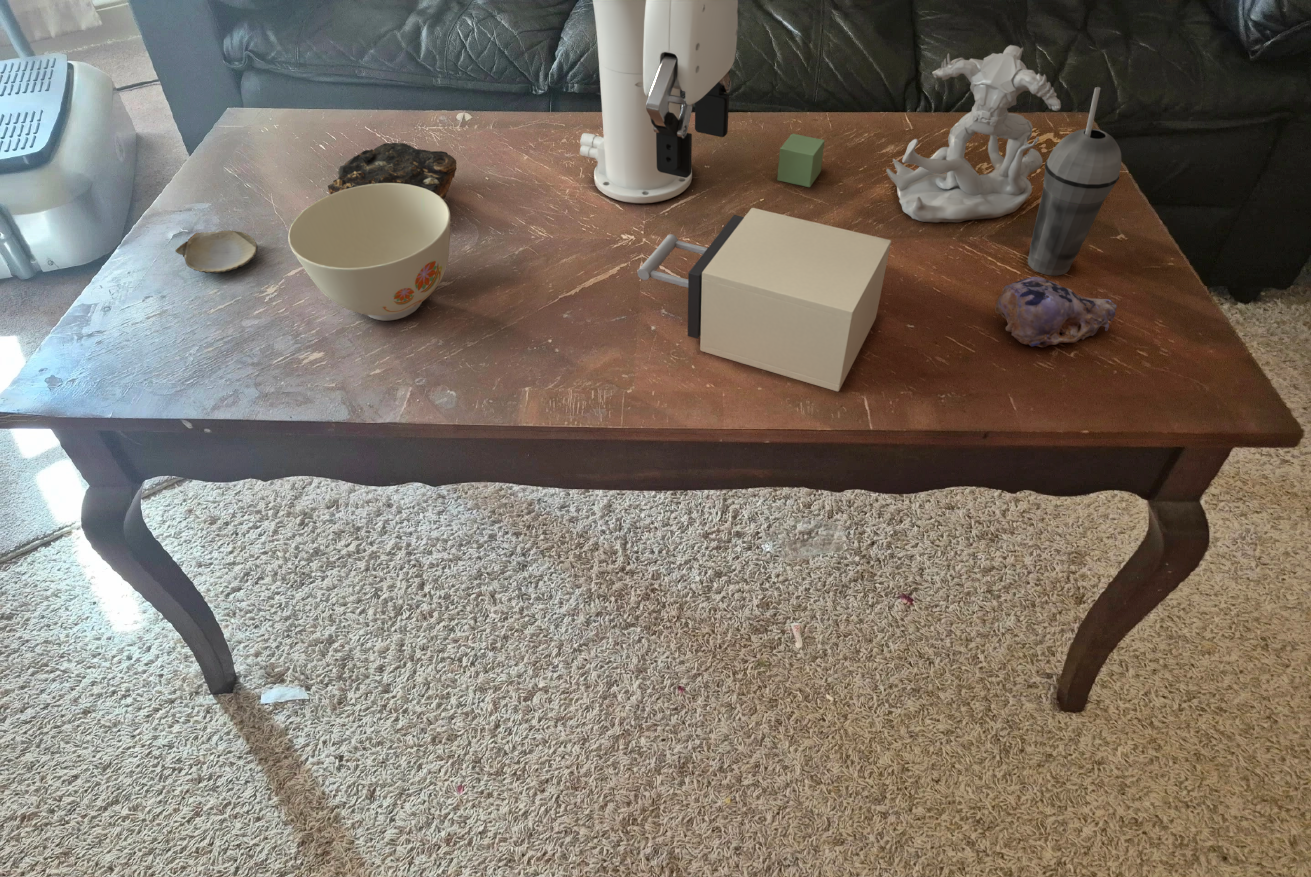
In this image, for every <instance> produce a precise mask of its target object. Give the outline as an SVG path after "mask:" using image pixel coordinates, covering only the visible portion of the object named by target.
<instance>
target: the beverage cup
mask: <svg viewBox="0 0 1311 877" xmlns="http://www.w3.org/2000/svg"><path fill="white" fill-rule="evenodd" d="M1100 92H1101V87H1100V86H1097V87H1094V90H1093V95H1092V99H1091V106H1090V109H1089V114H1088V118H1087V123H1086V128H1083V129H1078V130H1076V131H1074V132H1071V133H1069V134H1067V135H1066V136H1064V137H1063V138H1062V139H1061V140H1060V141H1059V142H1058V143H1056V144H1055V146H1054V148H1053V149H1052V150H1051V152H1050V154H1049V156H1048V158H1047V159H1046V160H1045V162H1044V163H1045V164H1044V174H1043V175H1044V176H1043V188H1042V193H1041V195H1040V201H1039V205H1038V210H1037V213H1036V214H1037V215H1036V219H1035V222H1034V228H1033V232H1032V236H1031V241H1030V245H1029V251H1028V252H1029V253H1028V257H1027V264H1028V266H1029V267H1030V268H1031V269H1032V270H1033V271H1035V272H1037V273H1040V274H1042V275H1045V276H1062V275H1065V274H1066V273H1068V271H1070V269H1071V266H1072V264H1073V263H1074V261H1075V260H1076V259H1077V256H1078V254H1079V252H1080V251H1081V248H1082V247H1083V244H1084V242H1085V240H1086V238H1087V236H1088V234H1089V232H1090V230H1091V228H1092V226H1093V223H1094V222H1095V220H1096V218H1097V216H1098V214H1099V212H1100V210H1101V208H1102V206H1103V204H1104V202H1105V200H1106V198H1108V196H1109V195H1110V193H1111V192H1112V190H1113V188H1114V187H1115V185H1116V184H1117V182H1118V181H1119V180H1120V176H1121V174H1120V172H1121V169H1122V168H1121V167H1122V152H1121V148H1120V146H1119V144H1118V143H1117V141H1116V140H1115V138H1114V136H1112V135H1110V134H1109V133H1108V132H1106V131H1104V130H1101V129H1098V128H1093V125H1094V121H1095V115H1096V112H1097V111H1096V110H1097V107H1098V103H1099V97H1100V94H1101V93H1100Z"/></svg>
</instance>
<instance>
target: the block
mask: <svg viewBox="0 0 1311 877" xmlns="http://www.w3.org/2000/svg"><path fill="white" fill-rule="evenodd" d="M825 142H826V141H825V139H822V138H817V137H811V136H806V135H801V134H797V133H791V134H790V135H789V137H788V138H787V139H786V141H784V143H783V144H782V145H781V147H779V155H778V156H779V157H778V165H777V179H776V180H777V181H778V182H783V183H788V184H792V185H797V186H802V187H806V188H811V187H812V185H813V184H814V182H815V181H816V179H817V178H818V176H819V175H820V174H821V172H822V166H823V156H824V149H825Z"/></svg>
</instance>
